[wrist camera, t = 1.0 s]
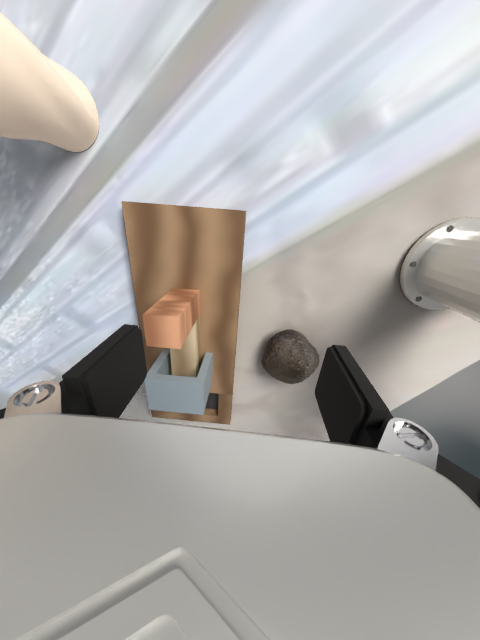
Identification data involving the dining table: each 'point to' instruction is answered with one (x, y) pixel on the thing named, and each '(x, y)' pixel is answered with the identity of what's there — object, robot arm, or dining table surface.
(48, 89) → the water bottle
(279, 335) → the stone
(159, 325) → the l-shaped wooden block
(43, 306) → the dining table surface
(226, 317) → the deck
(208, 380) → the tunnel
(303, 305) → the dining table surface
